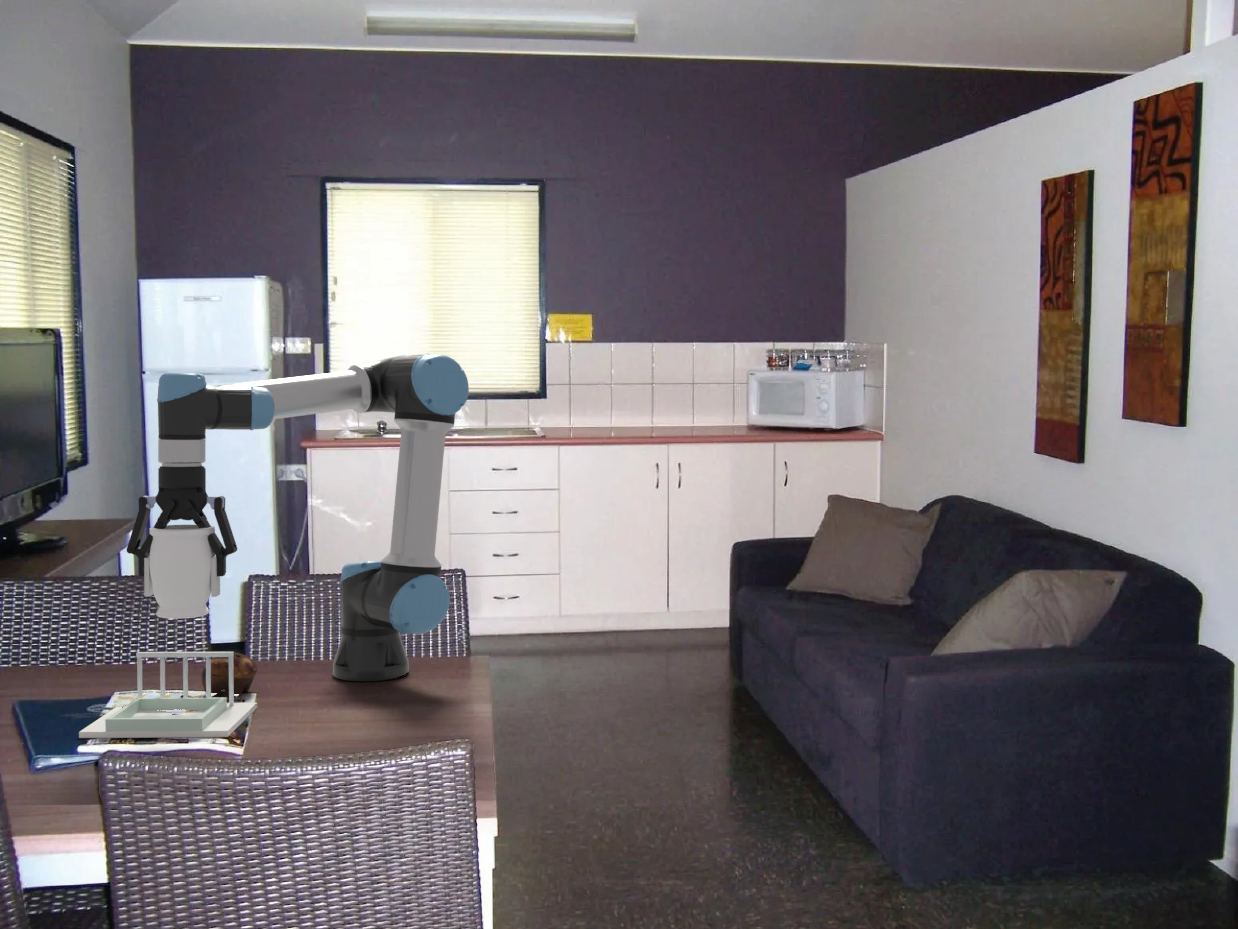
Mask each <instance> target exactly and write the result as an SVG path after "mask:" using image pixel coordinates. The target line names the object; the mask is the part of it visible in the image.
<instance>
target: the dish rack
mask: <svg viewBox="0 0 1238 929" xmlns="http://www.w3.org/2000/svg"><path fill="white" fill-rule="evenodd" d="M234 653H235V651H138V652H136V656H135V657H136V664H137V665H136V666H137V668H136V669H137V670H136V673H137V674H136V675H137V676H136V677H137V679H136V680H137V684H136V686H137V697H136V698H135V699H133V700H132V701H130V702H128V703H129V704H127V705H126V706H124V707H123V708H122V707H117V706H116V707H114V708H113V709H111V710H109V711H108V712H107V713H105V714H104V715H102V716H100V717H99V718H98V719H97V720H95V721H93V722H92V723H90V724H88V725H87V726H86V727H84V728H83V729H81V730H80V731H79V732H78V739H107V738H108V739H118V738H119V739H120V738H121V739H123V738H124V739H125V738H128V739H129V738H133V739H134V738H135V739H137V738H138V739H139V738H140V739H141V738H228V737H229V736H230V735H232V733H233V732H234V731H235V730H237V729H238V727H240V725H242V724H243V723H244V722H245V721H247V719H248V718H249V717H250V716H251V715H252V714H253V713H254V711H256V710H257V709H258V702H235V697H234V674H233V656H234ZM214 657H229V692H228V697H227V696H225V697H222V696H221V697H219V696H217V697H215V696H214V697H211V660H212V659H211V658H214ZM143 658H159V670H160V671H159V674H160V675H159V676H160V677H159V680H160V681H159V684H160V688H159V691H160V697H143V661H142V660H143ZM166 658H182V682H183V683H182V684H183V685H182V688H183V690H182V691H183V692H182V694H183V697H166ZM188 658H205V666H206V693H205V697H189V663H188V662H189V660H188ZM227 700H228V702H227ZM174 709H177V710H178V709H179V710H180V709H181V710H182V709H185V710H198V711H195V712H194V711H191V712H186V713H175V714H186V715H175V716H174V715H172V714H174V713H172V712H166V711H162V710H174ZM157 710H159V711H157ZM160 710H161V711H160Z"/></svg>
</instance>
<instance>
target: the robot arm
mask: <svg viewBox="0 0 1238 929" xmlns="http://www.w3.org/2000/svg"><path fill="white" fill-rule="evenodd" d="M469 388H470V386H469V380H468V378H467V374H466V372H465V370H464V369H463V368H462V366H461V365H460V363H458V361H456V360H455V359H454V358H452V357H450V356H448V355H444V354H436V353H424V354H413V355H412V354H411V355H410V354H408V355H396V356H393V357H388V358H384V359H381V360H376V361H372V362H368V363H361V364H352V365H350V367H349V368H348V369H347V370H343V371H336V372H335V371H334V372H328V373H327V372H326V373H318V374H317V373H316V374H308V375H299V376H292V377H282V378H275V379H265V380H256V381H247V382H238V383H237V382H236V383H231V384H222V385H221V384H220V385H210V384H209V385H207V382H206V377H205V375H204V374H202V373H190V372H189V373H185V372H168V373H164V374H162V375H160V377H159V379H158V386H157V399H156V402H157V418H158V419H157V422H158V423H157V424H158V439H157V443H158V444H157V446H158V448H157V450H158V451H157V452H158V453H157V454H158V455H157V456H158V457H157V460H158V461H157V462H158V463H159V464H161V466H159V467H158V468H157V470H158V477H157V478H158V482H157V483H158V487H157V488H158V492H157V495H156V496H149V495H143V496H139V498H138V512H137V516H136V518H135V521H134V522H135V523H134V525H133V529H132V531H131V534H130V537H129V540H128V544H127V547H126V553H127V554H132V555H134V556H136V557H137V558H138V575H139V577H144V581H143V582H144V583H143V585H144V586H143V587H144V588H143V589H144V590H143V592H144V593H143V594H144V597H151V596H153V595H154V592H153V586H152V580H151V575H150V567H149V558H150V549H151V544H152V541H153V536H152V535H150V533H149V534H148V535H147V537H146V539H145V540H144V542H143V543H142V539H143V537H144V533H145V531H146V527H147V524H148V521H149V518H150V515H151V511H152V509H153V508H154V507H155V504H157V506H158V507H159V508H160V509H161V513H160V515H159V516H158V517H157V521H156V522H155V524H154V525H153V527H152V528H156V529H165V527H166V526H167V525H169V523H170V522H171V521H178V520H183V521H193V522H194V525H197V526H198V527H199V529H200V528H209V527H211V526H212V525H211V524H210V523H209V521H208V518H207V516H206V514H205V513H204V511H203V510H204V509H205V507H206V506H207V504H209V505H210V506H209V507H210V508H211V509H212V510H213V512H214V517H215V520H216V523H217V526H218V529H219V531H220V532H219V533H220V535H221V538H222V542H223V543H222V542H221V540H220V539H219V537H218V535H217V533H216V531H215V532H214V533H213V534H210V535H208V542H209V545H210V547H211V548H212V550H213V552H214V553H215V557H214V558H211V594H210V597H211V598H213V597H215V598H216V597H218V596H220V595H221V577H224V576H226V573H227V557H228V556H229V555H231V554H235V553H236V552H237V551H238V546H237V542H236V540H235V537H234V533H233V530H232V526H231V524H230V520H229V518H228V515H227V511H226V497H225V496H223V495H221V496H209V495H208V494H207V489H206V487H207V486H206V484H207V481H206V479H207V478H206V467H205V466H204V465H203V464H205V462H206V439H207V438H206V433H207V432H206V431H207V430H228V431H229V430H232V431H233V430H234V431H235V430H243V431H244V430H245V431H247V430H249V431H254V430H264V429H265V430H266V429H267V428H268V427H270V425H271V424H272V422H273V421H274V420H280V419H286V418H293V417H301V416H309V415H316V414H324V413H332V412H333V413H334V412H340V411H348V410H349V411H350V410H353V411H354V412H355V413H358V414H363V413H364V414H365V413H375V412H376V413H378V412H379V413H381V412H382V413H394V419H393V420H394V422H395V424H396V425H397V426H398V427H399V428H400V443H399V451H398V461H397V462H398V463H397V464H398V465H397V474H396V483H395V493H394V494H395V495H394V506H393V517H392V526H391V527H392V529H391V540H390V550H389V552H388V554H387V555H386V556H385V557H384V558H382V560H373V561H372V560H370V561H361V562H359V561H358V562H351V563H349V562H348V563H347V564H344V565H343V566H342V568H341V575H340V583H339V584H340V605H341V606H340V607H341V608H340V611H341V614H340V615H341V616H340V617H341V620H340V621H341V622H340V623H341V626H340V627H341V639H340V641H339V644H338V648H337V650H336V653H335V656H334V659H333V663H332V676H333V677H334V678H336V679H339V680H343V681H350V682H379V681H381V682H382V681H387V680H388V679H389V680H393V679H394V680H395V679H398V678H397V677H399V676H401V675H404V674H406V673H407V672H408V671H409V670H410V668H409V666H410V664H409V663H410V662H409V659H408V655H407V652H406V650H405V647H404V643H403V640H402V637H401V633H402V634H404V635H405V634H412V635H423V634H426V633H429V632H431V631H434V629H436V627H437V626H438V625H439V624H441V623H442V622H443V620H444V619H445V617H446V615H447V613H448V611H449V607H450V603H451V602H450V601H451V597H450V596H451V595H450V590H449V588H448V586H446V583H445V582H444V580H443V579H441V576H442V573H441V572H442V563H441V562H440V561H439V559H438V558H436V555H435V554H436V544H437V533H438V522H439V521H438V520H439V510H440V500H441V489H442V488H441V487H442V478H443V477H442V476H443V465H444V455H445V454H444V453H445V443H446V434H448V432H449V431H450V430H452V428H454V427H455V420H456V413H457V412H459V411H460V410H462V407H464V406H465V405H466V402H467V401H468V398H469V391H470V390H469ZM141 543H142V544H141ZM140 546H141V547H140ZM409 672H410V671H409ZM406 675H407V674H406ZM404 676H405V675H404ZM399 678H400V677H399Z"/></svg>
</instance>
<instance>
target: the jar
mask: <svg viewBox="0 0 1238 929" xmlns="http://www.w3.org/2000/svg"><path fill="white" fill-rule="evenodd" d="M214 532H215V533H216V528H215V526H212V525H211V527H209V528H200V529H199V527H198V526H197V525H196V524H173V525H172V524H167V526H166V527H165V529H156V528H153V527H150V528H149V534H150V535H152V536H153V541H152V544H151V549H150V555H149V556H150V558H149V567H150V575H151V580H152V586H153V592H154V598H155V600H156V602H157V604H158V605H159V607H158V609H157V610H156V613H155V614H156V617H159V618H161V619H162V618H163V619H173V620H174V619H175V620H176V619H180V620H182V619H192V618H193V619H194V618H199V617H204V616H207V615H208V614H209V613H210V610H209V608H208V606H207V603H208V601H209V599H210V597H211V558H214V557H215V556H216V555H215V553H214V552H213V550H212V548H211V547H210V545H209V542H208V535H210V534H213V533H214Z"/></svg>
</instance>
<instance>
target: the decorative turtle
mask: <svg viewBox="0 0 1238 929" xmlns="http://www.w3.org/2000/svg"><path fill="white" fill-rule="evenodd" d="M257 671H258V665H257V663H256V661H255V660H254V659H253V658H251V657H249V656H248V655H246V654H243V653H240V652H234V656H233V674H234V694H240V695H242V693H247V692H248V691H249V690H250V688H251V687H252V683H253V681H254V679H255V677H256V673H257ZM200 678H201V683H202V686H203V689H204V690H203V691H204V693H205V692H206V665H205V666H204V667H203V670H202V671H201V675H200ZM221 690H223V691H226V692H227V693H229V657H212V659H211V693H217V694H219V693H221V692H222V691H221ZM220 691H221V692H220Z"/></svg>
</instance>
